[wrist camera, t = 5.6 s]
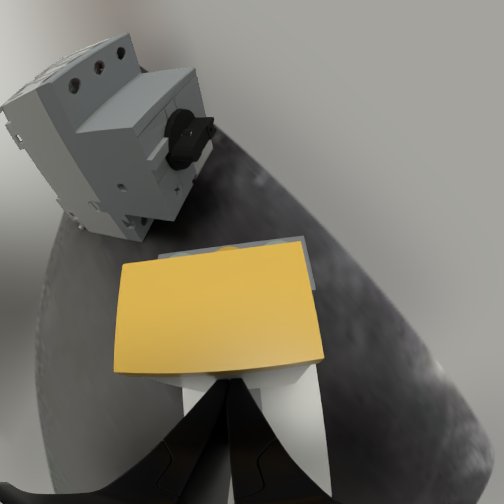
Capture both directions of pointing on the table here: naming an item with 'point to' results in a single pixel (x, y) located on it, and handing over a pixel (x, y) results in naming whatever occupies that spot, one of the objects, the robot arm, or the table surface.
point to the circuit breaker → (113, 137)
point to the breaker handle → (218, 318)
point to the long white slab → (285, 398)
